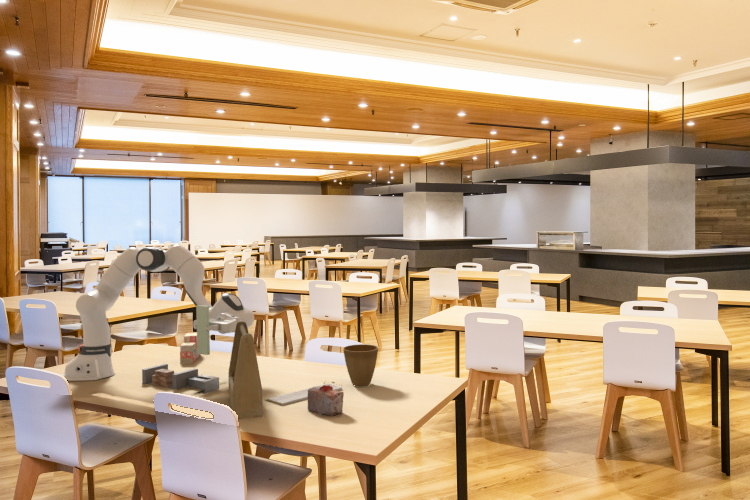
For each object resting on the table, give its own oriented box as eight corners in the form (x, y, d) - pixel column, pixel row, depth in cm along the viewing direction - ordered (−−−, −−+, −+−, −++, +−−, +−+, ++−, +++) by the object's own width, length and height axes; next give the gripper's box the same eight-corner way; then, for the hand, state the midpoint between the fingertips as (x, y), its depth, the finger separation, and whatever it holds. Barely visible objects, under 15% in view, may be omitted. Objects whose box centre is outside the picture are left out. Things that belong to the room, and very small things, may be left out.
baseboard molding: (263, 401, 234) (282, 407, 226) (263, 393, 234) (282, 399, 226) (323, 385, 257) (342, 391, 248) (323, 379, 256) (342, 384, 248)
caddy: (262, 416, 213) (262, 332, 212) (232, 419, 210) (231, 334, 209) (255, 394, 241) (254, 320, 240) (227, 397, 238) (227, 321, 237)
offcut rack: (198, 386, 253) (198, 368, 253) (176, 393, 243) (175, 374, 243) (164, 380, 263) (164, 363, 263) (142, 386, 253) (142, 369, 252)
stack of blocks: (193, 363, 296) (192, 339, 296) (179, 364, 296) (179, 339, 295) (200, 354, 318) (200, 331, 317) (188, 355, 317) (188, 331, 316)
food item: (347, 413, 217) (346, 386, 217) (332, 418, 211) (332, 390, 210) (318, 406, 225) (318, 380, 225) (304, 411, 219) (304, 384, 218)
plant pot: (357, 378, 267) (357, 342, 266) (384, 383, 258) (384, 346, 257) (336, 385, 254) (336, 348, 254) (364, 391, 246) (364, 352, 245)
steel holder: (219, 389, 249) (219, 377, 249) (205, 393, 242) (205, 381, 242) (201, 386, 254) (201, 374, 254) (187, 390, 247) (187, 378, 247)
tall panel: (209, 354, 247) (208, 305, 246) (207, 355, 245) (206, 306, 245) (200, 353, 249) (198, 305, 249) (197, 353, 248) (196, 305, 247)
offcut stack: (176, 385, 250) (176, 370, 250) (167, 387, 246) (166, 373, 246) (161, 382, 254) (160, 368, 254) (151, 384, 250) (151, 370, 250)
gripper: (207, 314, 263) (183, 318, 251) (242, 317, 253) (219, 321, 241) (207, 328, 263) (183, 333, 251) (243, 332, 254) (219, 337, 241)
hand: (201, 327), depth 246 cm, fingers closed on tall panel, 5 cm apart
